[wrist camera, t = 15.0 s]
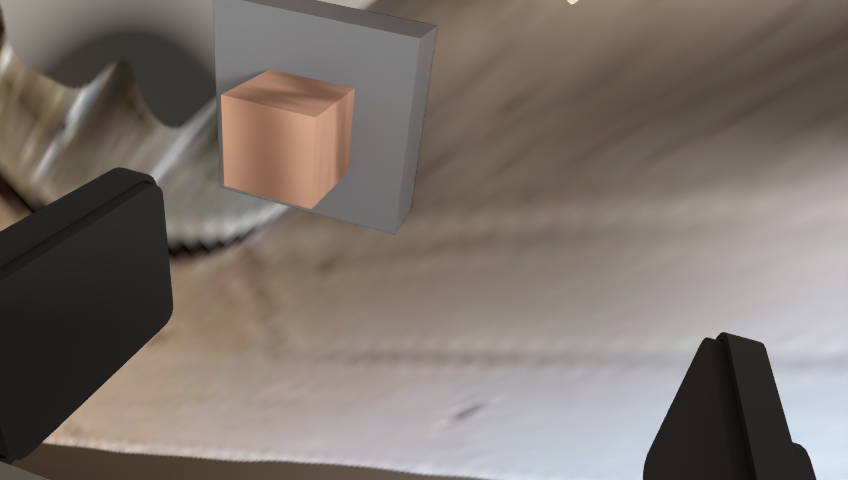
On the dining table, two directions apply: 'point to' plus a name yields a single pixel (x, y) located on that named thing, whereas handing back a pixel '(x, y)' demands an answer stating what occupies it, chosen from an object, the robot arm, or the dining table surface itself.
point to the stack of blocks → (572, 1)
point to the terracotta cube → (286, 136)
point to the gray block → (348, 66)
